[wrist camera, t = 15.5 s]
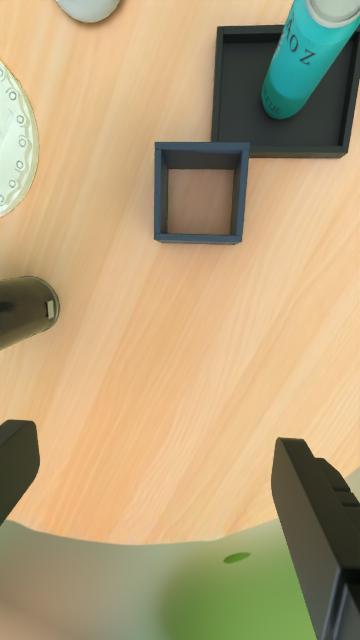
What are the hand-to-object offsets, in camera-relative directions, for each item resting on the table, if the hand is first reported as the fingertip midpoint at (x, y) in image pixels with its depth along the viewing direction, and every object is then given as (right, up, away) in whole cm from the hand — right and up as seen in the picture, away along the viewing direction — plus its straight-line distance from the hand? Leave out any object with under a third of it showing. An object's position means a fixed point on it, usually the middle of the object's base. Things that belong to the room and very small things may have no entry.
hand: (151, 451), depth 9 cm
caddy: (+4, +21, +30) cm, 37 cm away
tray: (+14, +33, +26) cm, 45 cm away
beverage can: (+14, +33, +26) cm, 44 cm away
